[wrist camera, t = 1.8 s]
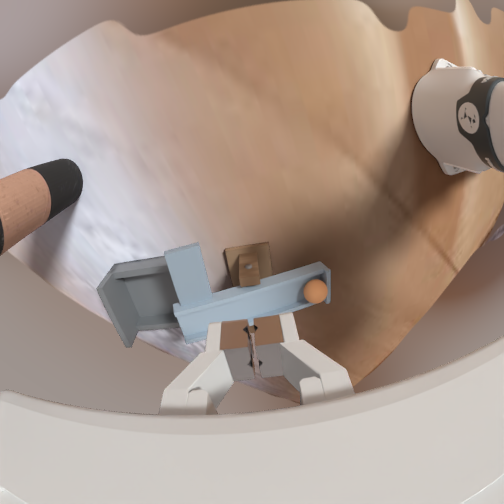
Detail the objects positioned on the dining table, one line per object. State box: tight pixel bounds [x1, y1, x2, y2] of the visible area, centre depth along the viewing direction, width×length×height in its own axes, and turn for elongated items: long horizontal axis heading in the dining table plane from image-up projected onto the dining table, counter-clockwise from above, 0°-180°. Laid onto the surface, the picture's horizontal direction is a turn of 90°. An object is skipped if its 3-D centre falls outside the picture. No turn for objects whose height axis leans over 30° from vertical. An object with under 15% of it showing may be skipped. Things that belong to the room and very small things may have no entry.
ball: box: [303, 279, 328, 304], centre depth 36 cm, size 3×3×3 cm
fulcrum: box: [225, 242, 273, 333], centre depth 38 cm, size 6×10×7 cm, turn 8°
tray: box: [96, 256, 180, 347], centre depth 39 cm, size 12×11×7 cm
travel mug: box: [0, 159, 83, 256], centre depth 24 cm, size 8×8×20 cm
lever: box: [164, 242, 331, 345], centre depth 33 cm, size 20×12×3 cm, turn 100°
